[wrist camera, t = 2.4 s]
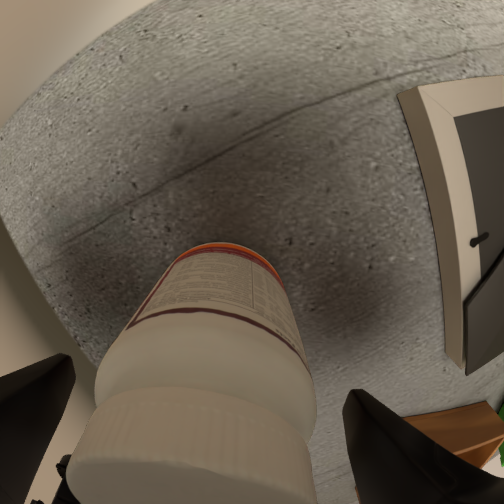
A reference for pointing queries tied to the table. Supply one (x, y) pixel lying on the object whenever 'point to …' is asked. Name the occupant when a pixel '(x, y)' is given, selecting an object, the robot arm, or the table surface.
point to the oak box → (463, 431)
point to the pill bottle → (203, 393)
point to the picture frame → (465, 206)
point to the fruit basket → (503, 447)
